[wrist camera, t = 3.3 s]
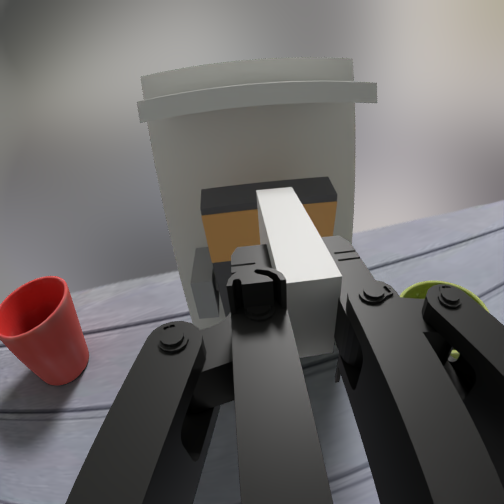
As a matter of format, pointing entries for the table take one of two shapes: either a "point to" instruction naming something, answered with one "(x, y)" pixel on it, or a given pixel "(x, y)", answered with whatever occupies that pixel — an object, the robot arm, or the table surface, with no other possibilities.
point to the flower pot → (44, 330)
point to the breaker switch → (256, 219)
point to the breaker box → (247, 145)
